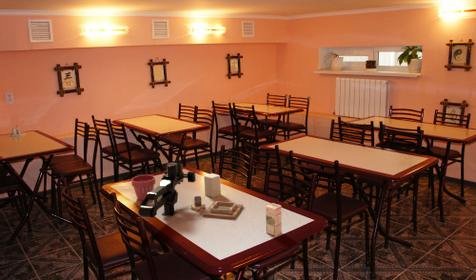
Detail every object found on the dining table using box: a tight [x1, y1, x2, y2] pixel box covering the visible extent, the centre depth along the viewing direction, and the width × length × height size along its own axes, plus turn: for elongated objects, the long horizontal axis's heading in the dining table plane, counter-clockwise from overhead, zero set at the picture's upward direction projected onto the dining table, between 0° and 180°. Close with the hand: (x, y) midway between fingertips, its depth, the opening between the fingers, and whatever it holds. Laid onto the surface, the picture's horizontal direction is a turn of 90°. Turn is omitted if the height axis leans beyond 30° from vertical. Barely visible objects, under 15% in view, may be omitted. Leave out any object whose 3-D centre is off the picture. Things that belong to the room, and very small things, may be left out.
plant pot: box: [131, 174, 156, 201], centre depth 265 cm, size 14×14×13 cm
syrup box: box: [265, 202, 283, 237], centre depth 211 cm, size 6×6×14 cm
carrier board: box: [202, 200, 244, 220], centre depth 241 cm, size 18×18×4 cm
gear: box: [190, 195, 206, 212], centre depth 247 cm, size 8×8×6 cm
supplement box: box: [203, 173, 222, 198], centre depth 267 cm, size 7×7×13 cm
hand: (185, 172), depth 261 cm, fingers open, 9 cm apart
